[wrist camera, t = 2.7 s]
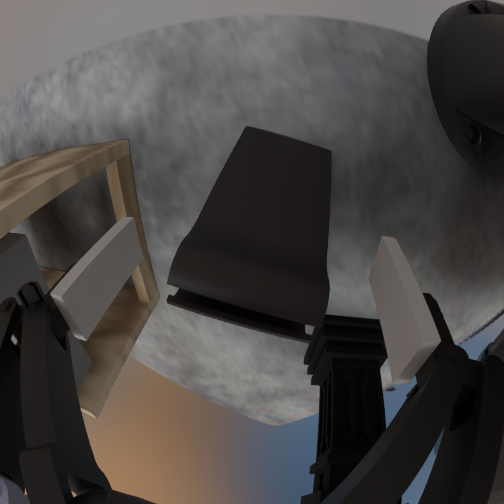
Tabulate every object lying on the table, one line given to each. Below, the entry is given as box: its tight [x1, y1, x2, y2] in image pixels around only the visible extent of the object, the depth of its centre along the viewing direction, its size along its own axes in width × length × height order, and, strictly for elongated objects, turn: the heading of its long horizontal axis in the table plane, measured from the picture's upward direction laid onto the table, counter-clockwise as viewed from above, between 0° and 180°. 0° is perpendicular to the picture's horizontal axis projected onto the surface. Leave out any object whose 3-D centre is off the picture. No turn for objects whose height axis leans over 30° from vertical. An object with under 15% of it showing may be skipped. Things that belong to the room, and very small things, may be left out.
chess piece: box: [301, 315, 409, 504], centre depth 20 cm, size 8×8×20 cm
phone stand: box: [167, 126, 331, 343], centre depth 15 cm, size 9×6×12 cm, turn 166°
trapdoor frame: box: [0, 140, 160, 418], centre depth 19 cm, size 21×17×15 cm
